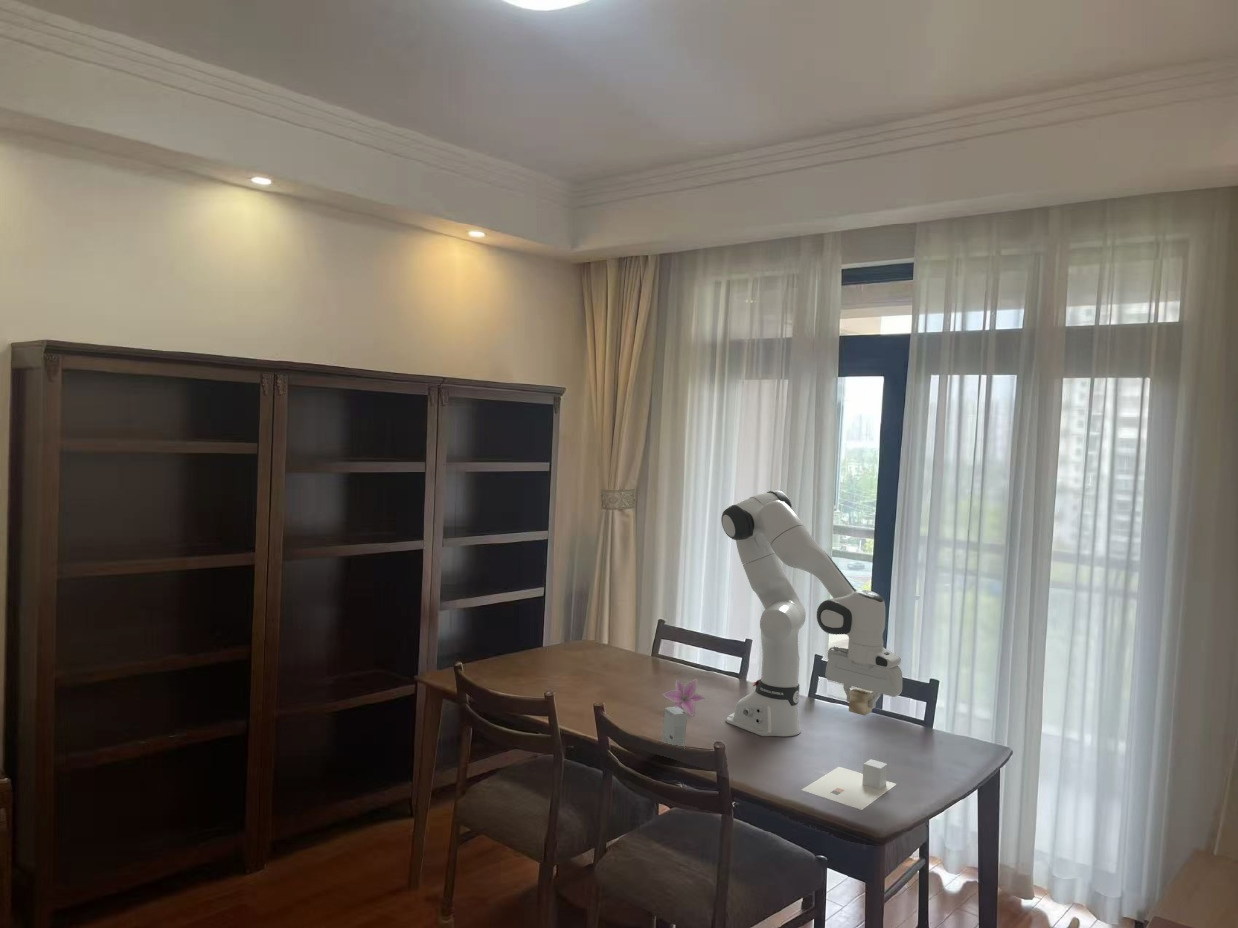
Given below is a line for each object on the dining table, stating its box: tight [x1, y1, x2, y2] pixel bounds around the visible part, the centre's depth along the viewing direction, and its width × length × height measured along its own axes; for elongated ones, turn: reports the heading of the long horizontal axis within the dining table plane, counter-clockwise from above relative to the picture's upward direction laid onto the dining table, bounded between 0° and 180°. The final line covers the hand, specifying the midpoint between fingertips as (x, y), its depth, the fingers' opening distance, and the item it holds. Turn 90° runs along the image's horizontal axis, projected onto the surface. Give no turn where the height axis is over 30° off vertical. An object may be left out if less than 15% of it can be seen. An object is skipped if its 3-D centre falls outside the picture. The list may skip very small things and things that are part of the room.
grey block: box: [862, 758, 888, 790], centre depth 225 cm, size 4×4×6 cm
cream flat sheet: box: [801, 766, 897, 811], centre depth 223 cm, size 16×22×1 cm
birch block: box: [848, 687, 874, 716], centre depth 232 cm, size 4×4×6 cm
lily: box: [662, 678, 706, 717], centre depth 278 cm, size 12×12×10 cm
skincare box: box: [661, 706, 689, 747], centre depth 240 cm, size 6×4×12 cm
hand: (860, 704), depth 232 cm, fingers closed on birch block, 4 cm apart
